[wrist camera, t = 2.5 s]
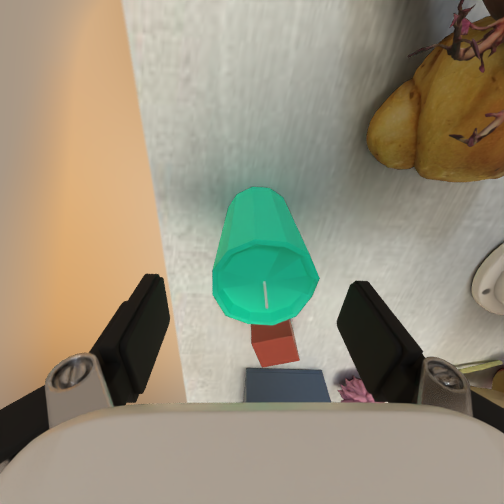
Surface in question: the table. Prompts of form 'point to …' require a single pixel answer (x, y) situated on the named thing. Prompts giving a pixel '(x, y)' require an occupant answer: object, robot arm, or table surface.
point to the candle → (262, 261)
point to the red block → (274, 343)
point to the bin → (284, 386)
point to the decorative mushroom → (493, 389)
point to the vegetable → (476, 53)
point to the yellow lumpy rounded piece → (444, 116)
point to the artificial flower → (359, 394)
